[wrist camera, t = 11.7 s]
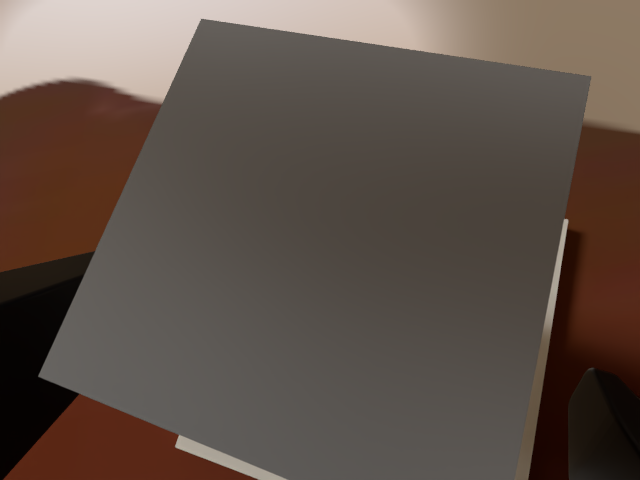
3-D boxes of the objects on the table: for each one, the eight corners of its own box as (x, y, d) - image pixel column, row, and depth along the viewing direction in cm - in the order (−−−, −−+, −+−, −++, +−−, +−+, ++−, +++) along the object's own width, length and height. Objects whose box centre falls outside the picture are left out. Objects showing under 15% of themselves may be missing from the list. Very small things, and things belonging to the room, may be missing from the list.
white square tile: (506, 566, 14) (512, 577, 13) (184, 443, 17) (175, 447, 16) (560, 226, 17) (568, 219, 16) (277, 169, 20) (273, 161, 19)
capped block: (416, 415, 15) (498, 566, 3) (297, 373, 16) (38, 376, 4) (446, 292, 16) (591, 76, 4) (333, 261, 17) (201, 18, 5)
